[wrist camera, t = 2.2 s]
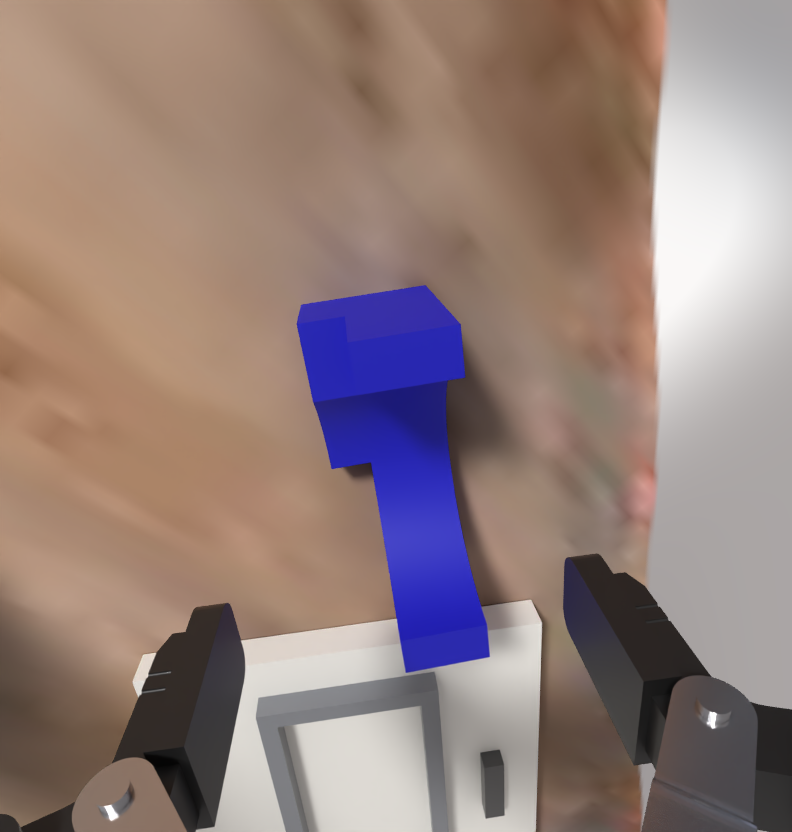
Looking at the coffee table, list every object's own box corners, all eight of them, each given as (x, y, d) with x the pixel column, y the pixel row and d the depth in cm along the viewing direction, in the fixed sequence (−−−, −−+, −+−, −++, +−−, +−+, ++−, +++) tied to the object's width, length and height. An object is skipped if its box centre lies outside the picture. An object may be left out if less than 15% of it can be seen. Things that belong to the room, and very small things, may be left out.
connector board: (232, 902, 33) (224, 955, 31) (143, 654, 25) (124, 702, 23) (526, 851, 34) (539, 900, 32) (530, 599, 26) (550, 639, 24)
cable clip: (301, 303, 20) (290, 351, 14) (424, 284, 20) (460, 324, 14) (356, 569, 25) (363, 681, 19) (454, 551, 25) (490, 657, 19)
